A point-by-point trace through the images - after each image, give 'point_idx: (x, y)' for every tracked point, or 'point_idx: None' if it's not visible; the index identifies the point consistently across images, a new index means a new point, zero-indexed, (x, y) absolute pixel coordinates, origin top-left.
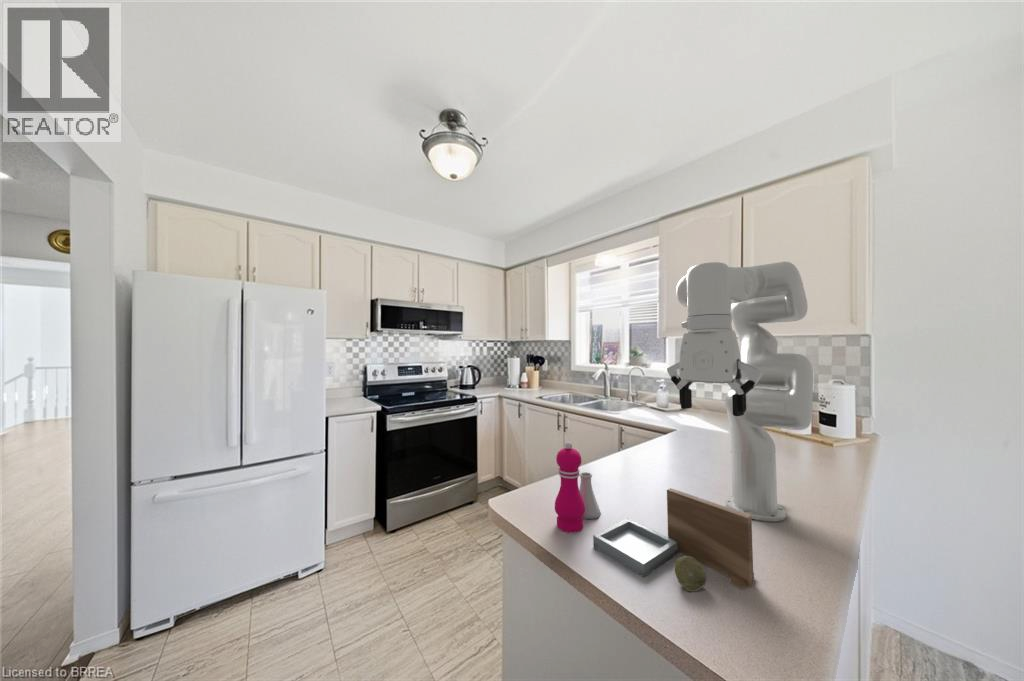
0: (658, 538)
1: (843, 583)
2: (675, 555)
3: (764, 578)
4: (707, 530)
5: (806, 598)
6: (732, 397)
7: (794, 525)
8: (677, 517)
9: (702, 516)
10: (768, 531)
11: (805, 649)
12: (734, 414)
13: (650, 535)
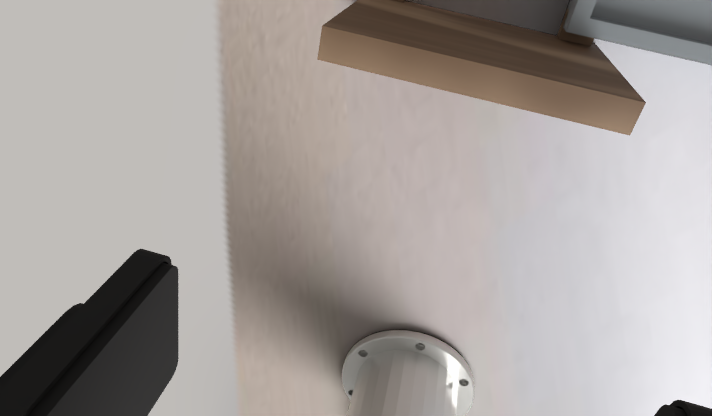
0: (633, 27)
1: (224, 152)
2: (567, 7)
3: None
4: (469, 38)
5: (267, 39)
6: (55, 402)
7: (325, 344)
8: (579, 64)
9: (485, 50)
10: (367, 289)
11: None
12: (156, 258)
13: (664, 33)
